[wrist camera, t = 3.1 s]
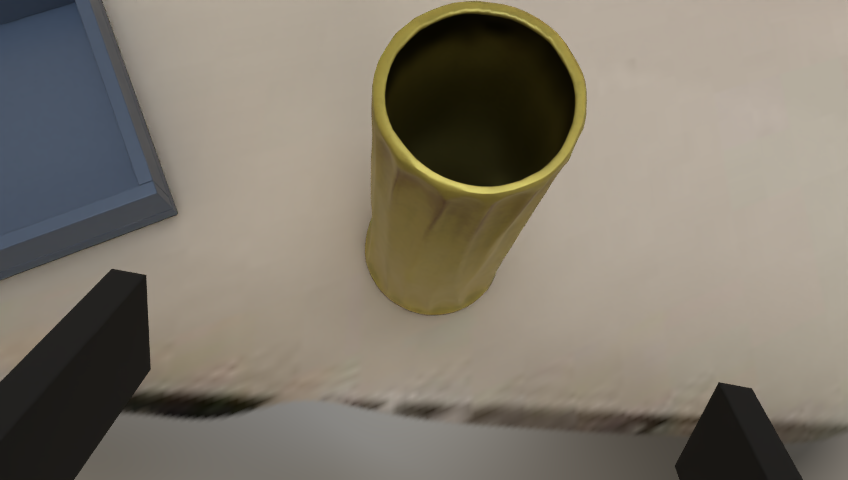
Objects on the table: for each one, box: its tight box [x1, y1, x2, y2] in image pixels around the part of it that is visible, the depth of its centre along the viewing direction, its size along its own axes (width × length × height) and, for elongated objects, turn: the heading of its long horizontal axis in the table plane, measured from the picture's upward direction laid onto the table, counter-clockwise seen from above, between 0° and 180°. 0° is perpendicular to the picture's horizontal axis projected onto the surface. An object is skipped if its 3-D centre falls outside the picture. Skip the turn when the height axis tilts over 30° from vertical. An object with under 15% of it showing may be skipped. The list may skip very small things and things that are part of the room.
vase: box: [365, 1, 587, 315], centre depth 22 cm, size 6×6×14 cm
